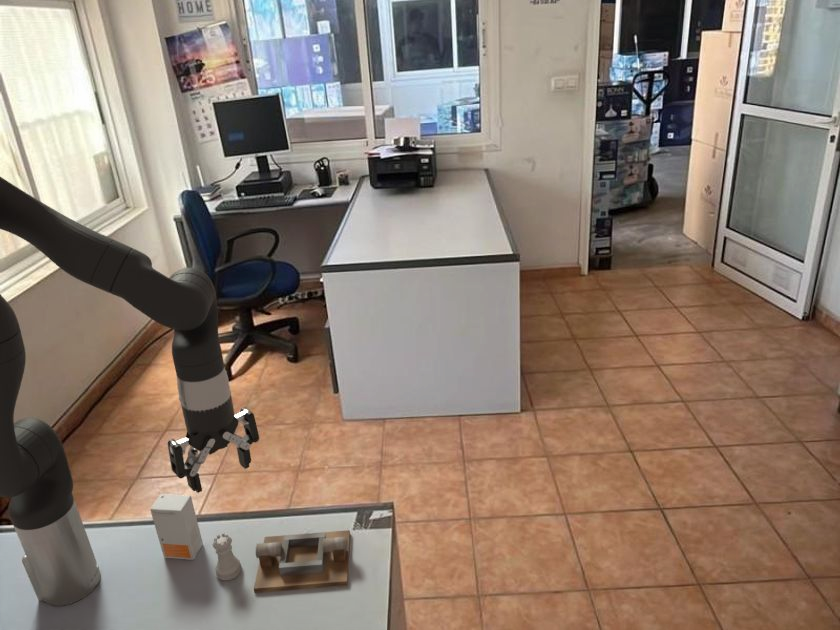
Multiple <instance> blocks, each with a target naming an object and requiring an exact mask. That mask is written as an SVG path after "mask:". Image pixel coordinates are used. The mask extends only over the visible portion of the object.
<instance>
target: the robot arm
mask: <svg viewBox="0 0 840 630" xmlns="http://www.w3.org/2000/svg"><path fill="white" fill-rule="evenodd" d="M0 230H2V231H5V232H7V233H10V234H12V235H15V236H17V237H19V238H20V239H22V240H24V241H26V242H27V243H29V244H30V245H32V246H33V247H34V248H35V249H37V250H38V251H40V252H41V253H42V254H43V255H44V256H45V257H47V258H48V259H49V260H50V261H51V262H52V263H54V265H56V266H57V267H58V268H59V269H60V270H62V271H64V272H65V273H66V274H68V275H69V276H71V277H73V278H75V279H76V280H78V281H80V282H82V283H84V284H87V285H89V286H92V287H94V288H96V289H99V290H102V291H104V292H106V293H109V294H111V295H113V296H116V297H118V298H121V299H123V300H125V302H127V303H128V304H129V305H131V306H132V307H133V308H135V309H136V310H137V311H139V312H140V313H142V314H144V315H145V316H146V317H148V318H150V319H151V320H152V321H154V322H156V323H157V324H159V325H161V326H164V327H166V328H167V329H168V328H169V329H172V330H173V338H172V343H171V354H172V361H173V365H174V371H175V375H176V383H177V391H178V400H179V402H180V406H181V410H182V415H183V420H184V424H185V427H186V434H185V437H183V438H180V439H179V440H175V439H174V438H171V439H169V440H168V441H167V449H168V456H169V462H170V467H171V471H172V472H173V474H175V475H176V477H178V479H184V478H185V477H186V480H187V481H186V482H187V486H188V487H189V488H190V489H191V491H192V492H196V493H197V494H199V493H201V492H203V487H202V484H201V478H200V474H199V473H198V471H199V470H200V468H201V466H202V465H203V464H204V463H205V461H206V459H207V457H208V456H209V455H212V454H215V453H216V452H218V451H219V450H222V449H225V448H228V445H229V444H230V443H232V444H233V445H235V446H236V450H237V451H236V452H237V456H238V462H239V464H240V466H241V467H242V468H243V469H245V470H246V469H248V468H250V464H251V463H252V456H251V452H250V451H251V450H250V448H251V446H252V445H253V443H258V442H259V441H260V435H259V431H258V426H257V422H256V417H255V414H254V413H253V412H252V411H251V410H249V408H247V407H244V406H243V407H241V409H240V412H238V413H237V414H235V409H234V403H233V397H232V392H231V388H230V381H229V376H228V373H227V371H226V368H225V363H224V357H223V351H222V347H221V343H220V337H219V315H218V314H219V312H218V301H217V298H218V297H217V293H216V288H215V286H214V284H213V281H212V280H211V278H210V277H209V276H208V274H206V272H204V271H202V270H200V269H198V268H194V267H184V268H180V269H178V270H177V271H175V272H174V273H172V274H171V275H170V276H169V277H168V276H167V275H164V273H161V272H160V271H158V270H156V269H155V268H153V263H152V259H151V258H150V257H149V256H148V255H147V254H146V253H144V252H142V251H140V250H137V249H135V248H133V247H131V246H129V245H127V244H125V243H123V242H120V241H119V240H118V241H117V240H115V239H113V238H111V237H108V236H106V235H104V234H102V233H100V232H98V231H97V230H94V229H91V228H89V227H87V226H85V225H83V224H81V223H79V222H78V221H76V220H74V219H72V218H70V217H68V216H66V215H64V214H62V213H60V212H59V211H57V210H56V209H54V208H52V207H50V206H49V205H47V204H46V203H43V202H42V201H40V200H39V199H38V198H36V197H33V196H32V195H30V194H28V192H25V191H24V190H22V189H20V188H19V187H17V186H16V185H14V184H13V183H11V182H10V181H9V180H7V179H6V178H3V177H2V176H0ZM24 343H25V342H24V339H23V335H22V332H21V328H20V324H19V320H18V318H17V315H16V312H15V311H14V309H13V308H12V306H11V305H10V304H9V302H8V301H7V300H6V299H5V297H3V295H2V294H1V293H0V498H5V499H9V498H11V499H10V502H9V504H8V510H7V512H8V517H9V519H10V521H11V524H12V526H13V527H14V530H15V533H16V535H17V537H18V539H19V542H20V544H21V547H22V549H23V551H24V555H23V557H22V559H21V563H22V565H23V567H24V569H25V572H26V574H27V577H28V578H29V582H30V584H31V586H32V589H33V591H34V593H35V595H36V598H37V601H44V602H46V603H47V604H48V605H51V606H57V607H61V606H66V605H71V604H74V603H76V602H78V601H80V600H83V599H84V598H85V597H86V596H88V595H89V594H90V593H91V592H93V590H94V589H95V588H96V587H97V585H98V584H99V581H100V579H101V572H100V568H99V564H98V563H97V559H96V556H95V553H94V551H93V548H92V544H91V542H90V539H89V536H88V534H87V531H86V529H85V525H84V523H83V520H82V517H81V515H80V512H79V510H78V506H77V504H76V501H75V499H74V498H75V497H74V495H73V489H74V481H73V476H72V473H71V470H70V466H69V462H68V457H67V454H66V450H65V448H64V445H63V443H62V441H61V439H60V437H59V435H58V434H57V432H56V431H55V430H54V429H53V427H52V426H50V424H48V423H46V422H45V421H44V420H42V419H39V418H35V417H26V418H25V417H24V418H21V419H18V420H17V421H16V422H14V420H15V419H14V416H15V407H16V404H17V401H18V398H19V397H18V396H19V393H20V389H21V385H22V381H23V378H24V375H25V367H26V361H27V359H26V357H27V356H26V355H27V354H26V348H25V344H24ZM239 423H241V424H242V426H243V429H244V432H245V435H244V436H243V437H242V436H240V435H239V434H237V433H235V432H236V430H237V428H238V427H239ZM188 446H189V449H188V451H187V457H186V460H184V459H185V458H184V455H185V454H186V450H187V447H188ZM198 451H199V452H198Z"/></svg>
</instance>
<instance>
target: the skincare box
mask: <svg viewBox="0 0 840 630" xmlns="http://www.w3.org/2000/svg"><path fill="white" fill-rule="evenodd" d="M149 511H150V514H151V517H152V520H153V524H154V528H155V531H156V535H157V537H158V538H157V539H158V541H159V545H160V548H161V552H162V555H163V558H165V559H180V560H187V561H188V560H189V561H194V560H195V559H196V557H197V554H199V551H200V549H201V548H202V546H203V539H202V534H201V530H200V527H199V523H198V519H197V515H196V511H195V506H194V503H193V497H192V495H186V494H184V495H183V494H177V493H175V494H174V493H173V494H171V493H170V494H169V493H160V494H159V496H158V497H157V498H156V500H155V502H154V503H153V505H151V507H150V510H149Z"/></svg>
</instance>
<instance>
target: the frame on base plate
mask: <svg viewBox="0 0 840 630" xmlns="http://www.w3.org/2000/svg"><path fill="white" fill-rule="evenodd" d="M350 543H351V531H350V529H349V530H348V529H347V530H337V531H334V530H333V531H325V532H324V531H323V532H311V533H297V534H287V535H284V534H283V535H274V536H273V535H270V536H264V539H263V543H256V545H255V557H256V559H258V560H259V562H258V567H257V572H256V577H255V581H254V585H253V592H254V593H255V594H257V593H268V592H269V593H270V592H280V591H294V590H306V589H319V588H320V589H321V588H329V587H342V586H343V587H345V586H348V584H349V583H348V580H349V565H350V564H349V563H350V562H349V561H350V547H351V545H350Z"/></svg>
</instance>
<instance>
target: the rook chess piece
mask: <svg viewBox="0 0 840 630" xmlns="http://www.w3.org/2000/svg"><path fill="white" fill-rule="evenodd" d="M232 542H233V539H232V538H231V537H230V536H229V535H228V533H225V532H222V533H221V534H217V535H216V537H214V539H213V542H212V548H214V550H215V554H216V555H217V562H216V565H215V574H216V575H215V576H216V577H217V578H218V579H219V580H222V581H230V580H234V579H235V578H237V576H238V575H239V574H240V573H241V571H242V564H241V560H240V559H239V558H238V557H237V556H236V555H234V553H233V551H232V550H233V545H232Z"/></svg>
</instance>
